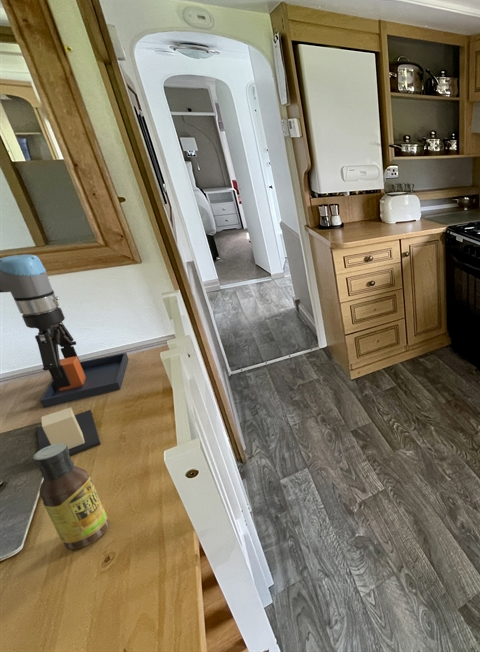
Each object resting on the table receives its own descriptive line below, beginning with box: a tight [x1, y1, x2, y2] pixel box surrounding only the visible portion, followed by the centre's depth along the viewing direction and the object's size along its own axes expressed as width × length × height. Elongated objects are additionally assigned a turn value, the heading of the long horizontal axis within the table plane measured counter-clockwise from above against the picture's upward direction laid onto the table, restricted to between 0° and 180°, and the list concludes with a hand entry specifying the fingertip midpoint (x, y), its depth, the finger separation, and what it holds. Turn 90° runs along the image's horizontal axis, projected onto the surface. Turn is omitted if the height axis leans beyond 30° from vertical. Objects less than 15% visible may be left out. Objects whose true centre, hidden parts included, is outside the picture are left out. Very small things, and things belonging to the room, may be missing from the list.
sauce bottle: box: [32, 443, 109, 550], centre depth 67 cm, size 6×6×20 cm
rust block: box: [59, 355, 86, 391], centre depth 112 cm, size 5×5×8 cm
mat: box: [36, 409, 102, 457], centre depth 94 cm, size 10×18×1 cm, turn 48°
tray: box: [39, 352, 129, 409], centre depth 115 cm, size 21×16×3 cm
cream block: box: [40, 407, 85, 449], centre depth 90 cm, size 5×5×8 cm
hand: (69, 375), depth 113 cm, fingers open, 13 cm apart
